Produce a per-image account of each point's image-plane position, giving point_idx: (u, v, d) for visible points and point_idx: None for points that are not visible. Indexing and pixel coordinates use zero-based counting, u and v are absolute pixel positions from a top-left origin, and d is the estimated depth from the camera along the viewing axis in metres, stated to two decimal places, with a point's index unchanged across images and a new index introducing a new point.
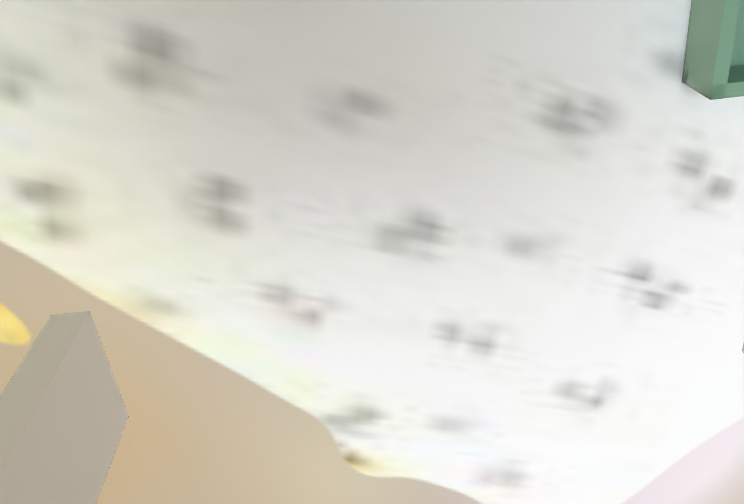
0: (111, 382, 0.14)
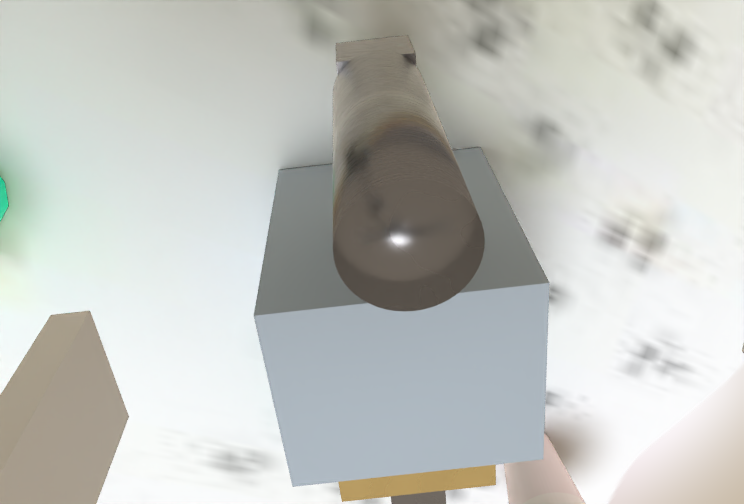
0: (111, 382, 0.14)
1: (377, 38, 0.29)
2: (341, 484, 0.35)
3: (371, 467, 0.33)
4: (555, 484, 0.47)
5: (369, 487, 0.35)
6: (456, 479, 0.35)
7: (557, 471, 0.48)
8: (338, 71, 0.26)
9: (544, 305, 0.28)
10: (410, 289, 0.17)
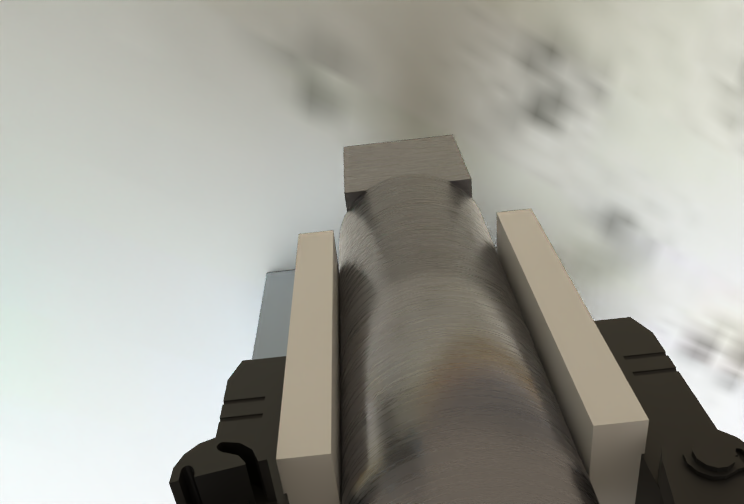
0: None
1: None
2: None
3: None
4: None
5: None
6: None
7: None
8: (348, 206, 0.16)
9: None
10: None
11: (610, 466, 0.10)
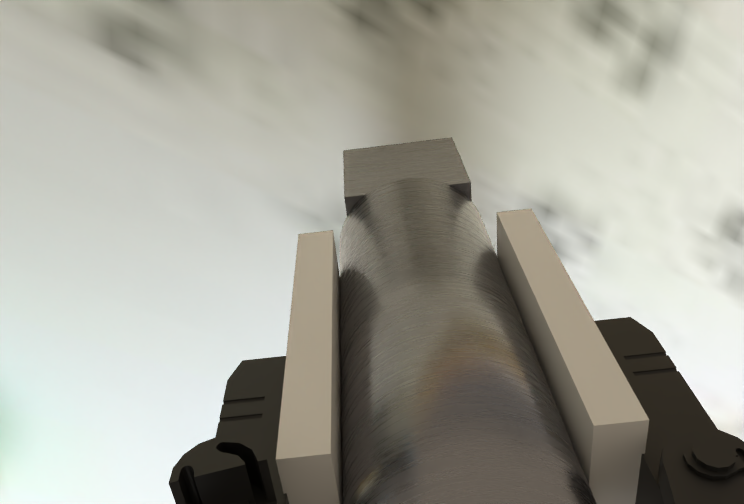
0: None
1: None
2: None
3: None
4: None
5: None
6: None
7: None
8: (348, 210, 0.17)
9: None
10: None
11: (610, 466, 0.10)
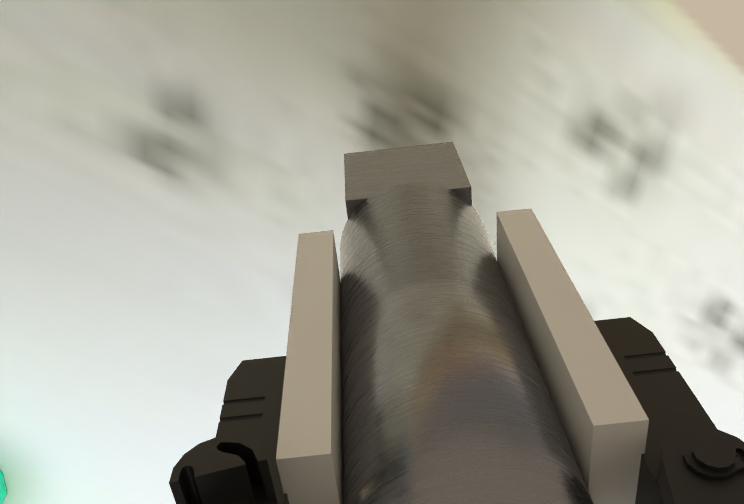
0: None
1: None
2: None
3: None
4: None
5: None
6: None
7: None
8: (349, 214, 0.17)
9: None
10: None
11: (610, 466, 0.10)
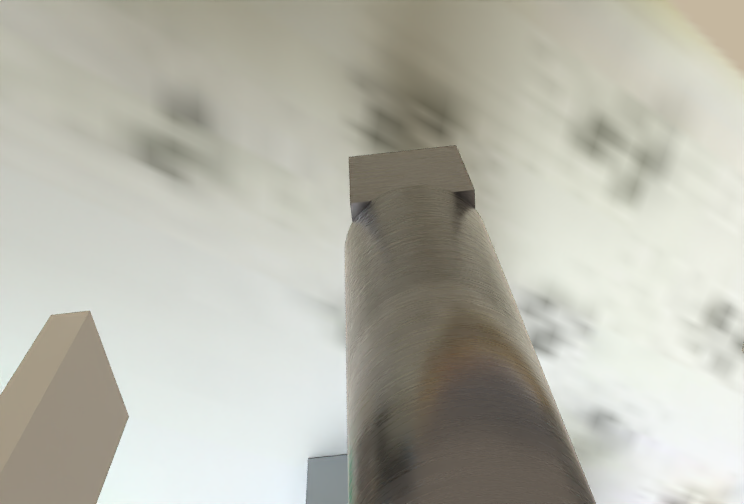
0: (111, 382, 0.14)
1: (410, 150, 0.19)
2: None
3: None
4: None
5: None
6: None
7: None
8: (353, 216, 0.17)
9: None
10: None
11: None
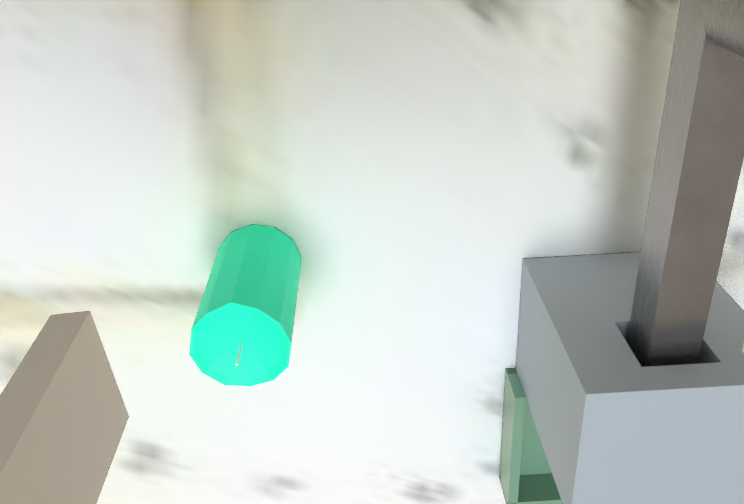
0: (111, 382, 0.14)
1: None
2: None
3: None
4: None
5: None
6: None
7: None
8: None
9: None
10: None
11: None
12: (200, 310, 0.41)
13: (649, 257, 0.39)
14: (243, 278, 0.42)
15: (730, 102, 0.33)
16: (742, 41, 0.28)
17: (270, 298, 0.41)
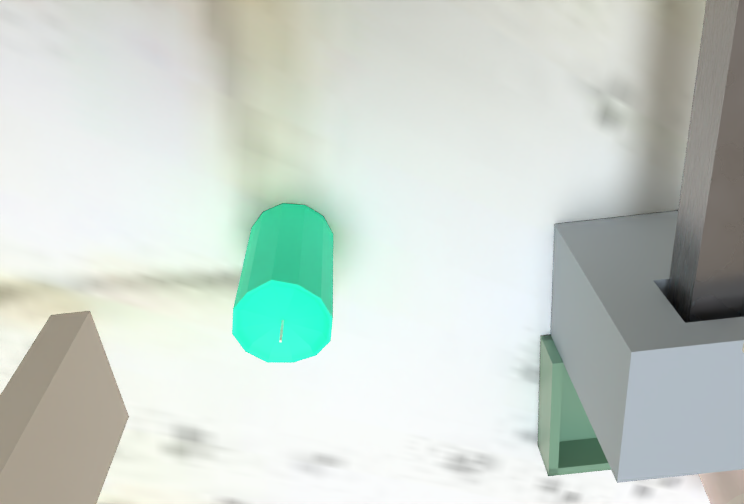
0: (111, 382, 0.14)
1: None
2: None
3: (681, 467, 0.41)
4: None
5: None
6: None
7: None
8: None
9: None
10: None
11: None
12: (240, 290, 0.41)
13: (688, 212, 0.38)
14: (280, 256, 0.42)
15: None
16: None
17: (309, 274, 0.41)
